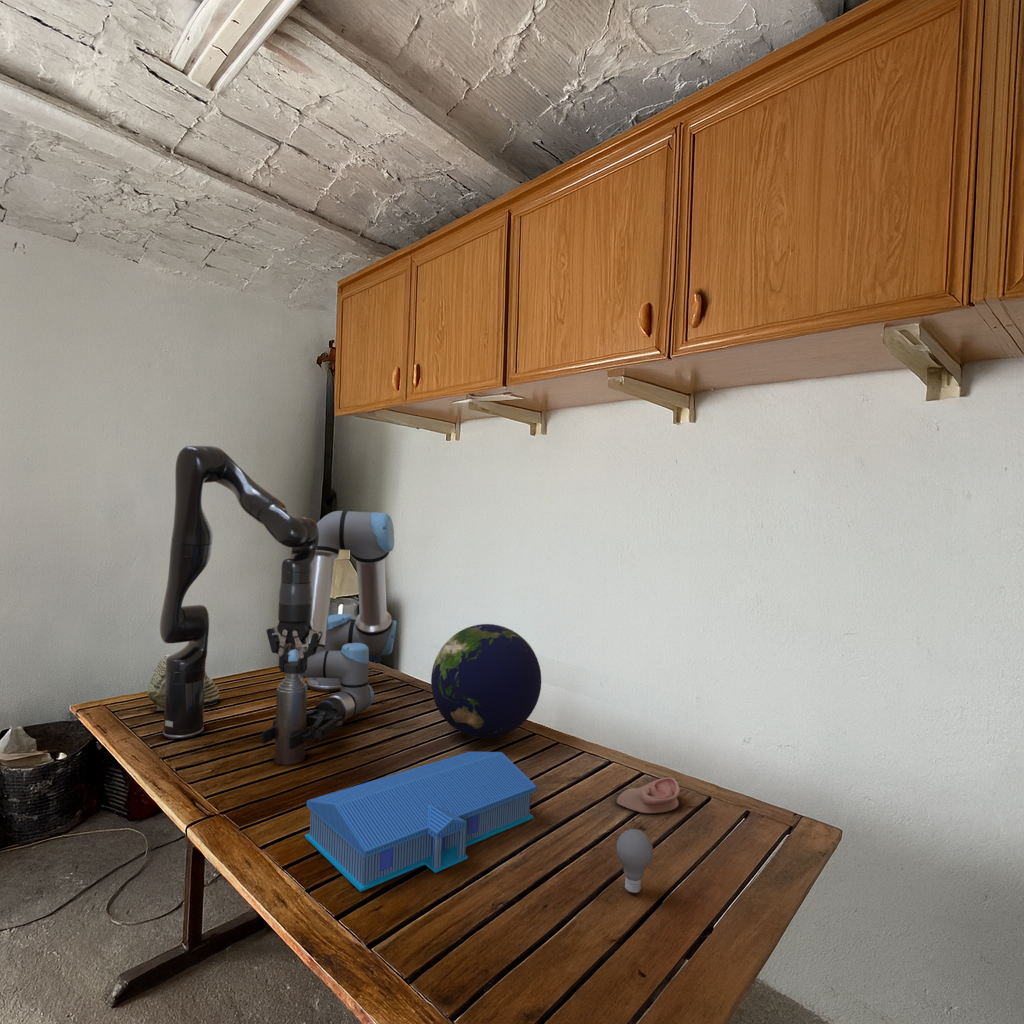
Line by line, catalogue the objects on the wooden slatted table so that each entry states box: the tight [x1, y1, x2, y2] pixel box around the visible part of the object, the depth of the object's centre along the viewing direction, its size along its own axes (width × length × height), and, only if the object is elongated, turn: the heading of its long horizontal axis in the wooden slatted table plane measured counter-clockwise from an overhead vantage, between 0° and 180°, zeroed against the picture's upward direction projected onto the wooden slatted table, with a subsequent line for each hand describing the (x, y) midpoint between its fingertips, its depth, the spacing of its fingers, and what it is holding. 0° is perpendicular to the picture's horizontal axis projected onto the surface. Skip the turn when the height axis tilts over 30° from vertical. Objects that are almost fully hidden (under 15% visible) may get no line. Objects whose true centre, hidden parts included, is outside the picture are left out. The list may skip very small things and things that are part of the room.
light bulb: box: [615, 828, 654, 894], centre depth 106 cm, size 6×6×10 cm
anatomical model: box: [616, 776, 681, 814], centre depth 138 cm, size 13×4×12 cm
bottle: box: [273, 673, 309, 766], centre depth 152 cm, size 7×7×22 cm
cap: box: [283, 661, 298, 675], centre depth 152 cm, size 4×4×2 cm
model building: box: [304, 751, 538, 893], centre depth 122 cm, size 39×24×10 cm, turn 132°
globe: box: [430, 623, 542, 739], centre depth 172 cm, size 30×30×30 cm
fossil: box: [147, 654, 221, 712], centre depth 185 cm, size 9×18×15 cm, turn 132°
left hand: (292, 671), depth 152 cm, fingers closed on cap, 4 cm apart
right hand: (276, 740), depth 147 cm, fingers closed on bottle, 7 cm apart
